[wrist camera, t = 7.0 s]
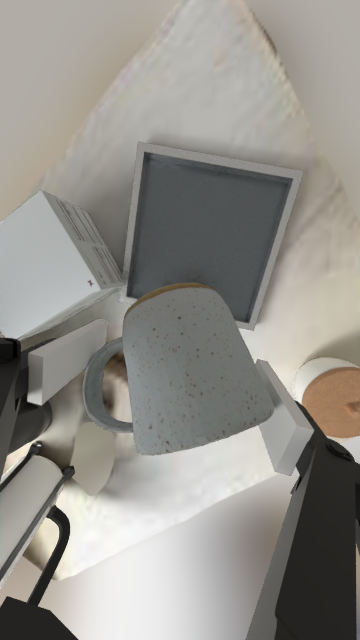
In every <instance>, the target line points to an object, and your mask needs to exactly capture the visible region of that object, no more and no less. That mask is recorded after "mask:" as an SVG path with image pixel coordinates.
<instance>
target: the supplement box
mask: <svg viewBox="0 0 360 640" xmlns="http://www.w3.org/2000/svg"><path fill="white" fill-rule="evenodd" d="M122 286H124V283H123V282H122V273H121V271H120V269H119V267H118V266H117V264H116V262H115V260H114V259H113V257H112V255H111V253H110V251H109V250H108V248H107V246H106V244H105V243H104V241H103V239H102V237H101V236H100V234H99V232H98V230H97V229H96V227H95V225H94V223H93V222H92V220H91V218H90V216H89V215H88V213H87V212H86V211H84V210H82V209H80V208H78V207H76V206H74V205H71V204H69V203H67V202H65V201H63V200H61V199H59V198H57V197H55V196H53V195H51V194H49V193H47V192H45V191H43V190H40V191H38V192H37V193H36V194H35V195H33V196H32V197H31V198H30V199H28V200H27V201H26V202H25V203H23V204H22V205H21V206H20V207H19V208H17V209H16V210H15V211H14V212H12V213H11V214H10V215H9V216H7V217H6V218H5V219H4V220H2V221H1V222H0V331H1V333H2V334H3V335H4V337H5V338H14V339H18V340H19V341H21V340H23V339H26V338H28V337H31V336H33V335H36V334H38V333H41V332H43V331H46V330H48V329H51V328H53V327H55V326H57V325H59V324H61V323H62V322H64V321H66V320H68V319H69V318H71V317H73V316H75V315H76V314H78V313H80V312H81V311H83V310H85V309H87V308H88V307H90V306H92V305H94V304H95V303H97V302H99V301H101V300H102V299H104V298H106V297H107V296H109V295H111V294H113V293H114V292H116V291H118V290H119V289H121V287H122Z"/></svg>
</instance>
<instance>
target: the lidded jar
mask: <svg viewBox="0 0 360 640" xmlns="http://www.w3.org/2000/svg"><path fill="white" fill-rule="evenodd" d="M293 392H294V396H295V399H296V401H298V402H299V403H300V404H301V405H303V406H304V407H305V408H306V410H307V411H308V412H309V414H310V416H312V418H313V419H314V421H315V422H316V423H317V425H318V426H319V427H320V429H321V430H322V431H323V433H324V434H325V435H327V436H331V437H336V438H350V437H356V436H360V367H359V366H357V365H355V364H353V363H351V362H348V361H346V360H342V359H338V358H331V357H322V358H317V359H313V360H310V361H308V362H307V363H305V364H304V365H302V366H301V367H300V368H299V370H298V371H297V372H296V374H295V377H294V380H293Z"/></svg>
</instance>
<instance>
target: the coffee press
mask: <svg viewBox="0 0 360 640" xmlns="http://www.w3.org/2000/svg"><path fill="white" fill-rule="evenodd" d="M40 449H41V443H33V444H32V445H31V447H30V450H29V452H28V454H27V456H25V457H23V458H21V459H19V460H18V461H16V462H15V463H14V464H13V465H12V466H11V467H10V468H9V469H8V471H7V472H6V473H5V474H4V475H3V476H2V477H1V481H0V589H1V588H2V586H3V584H4V583H5V581H6V580H7V578H8V576H9V575H10V573H11V572H12V570H13V569H14V567H15V565H16V564H17V562H18V561H19V559H20V557H21V556H22V554H23V553H24V551H25V549H26V548H27V546H28V545H29V543H30V541H31V540H32V538H33V537H34V535H35V533H36V532H37V530H38V528H39V527H40V525H41V524H42V522H43V520H44V519H45V517H47V518H49V519H51V520H52V521H53V522H55V523H56V524H57V525H58V527H59V540H58V543H57V545H56V547H55V549H54V551H53V553H52V555H51V557H50V559H49V561H48V563H47V565H46V567H45V568H44V570H43V572H42V574H41V576H40V578H39V580H38V582H37V584H36V586H35V588H34V590H33V592H32V594H31V595H30V597H29V599H28V601H27V603H29V604H32V605H35V606H38V604H39V603H40V601H41V599H42V596H43V594H44V592H45V590H46V588H47V586H48V584H49V582H50V580H51V578H52V576H53V574H54V572H55V570H56V568H57V566H58V564H59V562H60V559H61V557H62V555H63V553H64V551H65V548H66V546H67V543H68V540H69V535H70V523H69V519H68V518H67V516H66V515H65V514H64V513H63V512H62V511H61V510H60V509H59V508H57V506H56V505H55V503H56V500H57V498H58V496H59V495H60V493H61V491H62V489H63V485H64V482H65V481H66V480H68V479H69V478H70V477H72V476H73V475H74V473H75V470H74V466H69V467H68V468H66V469H64V470H60V469H59V467H58V466H57V465H56V464H55V463H54V462H52V461H51V460H49V459H47V458H45V457H42V456H39V453H40ZM33 454H34V455H33ZM65 474H66V475H65ZM63 475H65V476H64V477H63Z"/></svg>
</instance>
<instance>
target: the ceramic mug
mask: <svg viewBox="0 0 360 640" xmlns="http://www.w3.org/2000/svg"><path fill="white" fill-rule="evenodd" d="M122 349H124V356H125V362H126V367H127V375H128V384H129V395H130V404H131V411H132V421H133V423H127V422H122V421H118V420H116V419H114V418H112V417H111V416H110V415H109V414H108V413H107V412H106V410H105V407H104V405H103V393H102V380H103V377H104V373H103V368H104V366H105V364H106V363H107V361H108V360H109V359H110V358H111V357H112V356H113V355H114V354H116V353H117V352H118V351H120V350H122ZM83 402H84V406H85V409H86V412H87V414H88V416H89V417H90V418H91V420H93V421H94V422H95V423H96V424H97V425H98V426H100V427H102V428H104V429H105V430H109V431H113V432H118V433H133V432H134V440H135V446H136V449H137V452H138V453H140V454H142V455H161V454H167V453H172V452H176V451H181V450H187V449H191V448H194V447H198V446H203V445H206V444H208V443H211V442H215V441H218V440H221V439H224V438H228V437H230V436H232V435H235V434H238V433H240V432H242V431H244V430H247V429H249V428H252V427H255V426H257V425H259V424H261V423H263V422H265V421H267V420H268V419H269V418H271V416H272V415H273V413H274V405H273V402H272V399H271V397H270V395H269V393H268V391H267V389H266V387H265V385H264V383H263V381H262V379H261V377H260V374H259V372H258V370H257V368H256V366H255V364H254V361H253V359H252V357H251V355H250V353H249V350H248V348H247V346H246V344H245V342H244V340H243V338H242V336H241V334H240V331H239V329H238V327H237V324H236V322H235V320H234V318H233V315H232V313H231V311H230V309H229V308H228V306H227V304H226V303H225V302H224V300H223V299H222V297H221V296H220V295H219V293H217V292H216V291H215V290H214V289H213V288H211V287H209V286H207V285H203V284H200V283H176V284H172V285H168V286H164V287H161V288H158V289H156V290H154V291H151V292H149V293H147V294H145V295H143V296H142V297H141V298H139V299H138V300H137V301H136V302H135V303H134V304H133V305H132V306H131V307H130V308H129V309H128V310H127V312H126V314H125V316H124V321H123V331H122V337H120V338H117V339H115V340H112V341H111V342H109V343H107V344H105V345H104V346H103V347H102V348H100V349H99V350H98V351H97V352H96V353H95V354H94V356H93V357H92V359H91V360H90V362H89V364H88V366H87V368H86V371H85V375H84V381H83Z"/></svg>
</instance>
